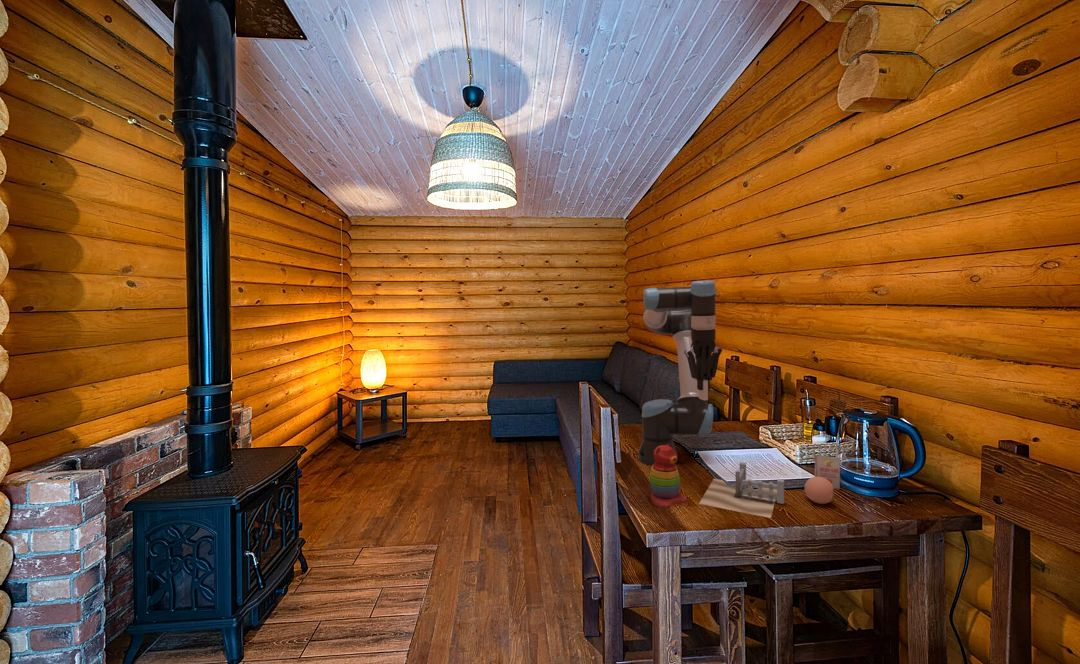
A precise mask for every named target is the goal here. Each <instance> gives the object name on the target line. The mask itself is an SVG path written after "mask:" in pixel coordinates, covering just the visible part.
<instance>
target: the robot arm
mask: <svg viewBox="0 0 1080 664" xmlns="http://www.w3.org/2000/svg"><path fill="white" fill-rule="evenodd" d="M716 293H717V289H716V282H715V281H714V280H696V281H692V282H691V283H690V286H677V287H671V286H670V287H649V288H646V289H644V290H643V308H644V310H645V311H644V312H643V316H642V319H643V320H642V321H643V324H644V326H645V327H646V328H647V329H649V330H650V331H651V332H653V333H656V334H659V335H672V339H673V340H674V341H675V342H676V349H677V350H676V351H677V363H678V377H679V379H678V380H679V391H680V392H679V393H680V396H679V397H678V398H677V400H676V403H673V400H671V399H665V398H663V399H662V398H661V399H653V400H649V401H647V402H644V403H643V405H642V407H641V409H642V410H641V418H642V419H641V421H642V422H641V423H642V425H641V426H642V433H641V434H642V440H641V443H640V447H639V450H638V454H637V455H638V460H639V461H640V462H641V463H643V464H646V465H648V466H649V465H650V466H653V464H654V463H655V462H656V461H655V459H654V450H655V449H656V448H657V447H658V446H661V445H667V444H670V445H671V448H673V450H674V451H675V452H676V454H677V460H676V462H675V464H677V463H678V462H679V461H678V459H679V458H678V457H679V456H678V455H679V454H678V452H677V449H676V445H675V444H674V439H673V438H674V437H673V436H674V435H697V436H699V435H708V434H710V432H711V431H712V429H713V422H714V406H713V404H711V403H709V401H708V400H709V390H710V386H711V383H710V381H712V380H713V378H716V375H717V369H718V365H719V360H720V356H721V354H722V353H723V349H722V348H719V347H718V346H717V345H716V342H715V341H716V339H717V337H716V336H717V335H716V329H715V328H716Z"/></svg>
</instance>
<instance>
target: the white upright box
mask: <svg viewBox="0 0 1080 664" xmlns="http://www.w3.org/2000/svg"><path fill="white" fill-rule="evenodd" d="M814 457H815V458H814V477H823V478H825V479H827V480H828V481H829V482H831V484H832V485H833V488H834V490H838V491H839V490H840V487H841V485H840V484H841V483H840V482H841V471H840V470H841V468H840V457H833V456H826V455H825V456H824V455H815V456H814Z"/></svg>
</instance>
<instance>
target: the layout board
mask: <svg viewBox="0 0 1080 664" xmlns="http://www.w3.org/2000/svg"><path fill="white" fill-rule="evenodd" d="M723 480H724V479H720V478H719V479H718V478H713V480H712V481H711V483H710V484H709V486H708V488H707V489H706V491H705V493H704V494H703V495H702V498H701V499H700V501H699V503H698V504H699V505H703V506H709V507H714V508H718V509H724V510H729V511H733V512H739V513H743V514H749V515H754V516H758V517H764V518H769V519H772V515H773V512H774V506H775V504H776V500H774V499H773V502H771V501H769V499H768V498H762V500H758V497H755V496H752V497H751V498H748V495H743V490H742V492H741V493H740V497H736V487H733V486H729V485H727V484H726V483H725V482H724V481H723ZM743 489H744V490H748V489H745V488H743ZM752 491H757V492H758V489H752ZM762 492H764V493H769V488H762ZM773 494H777V490H775V489H773Z"/></svg>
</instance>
